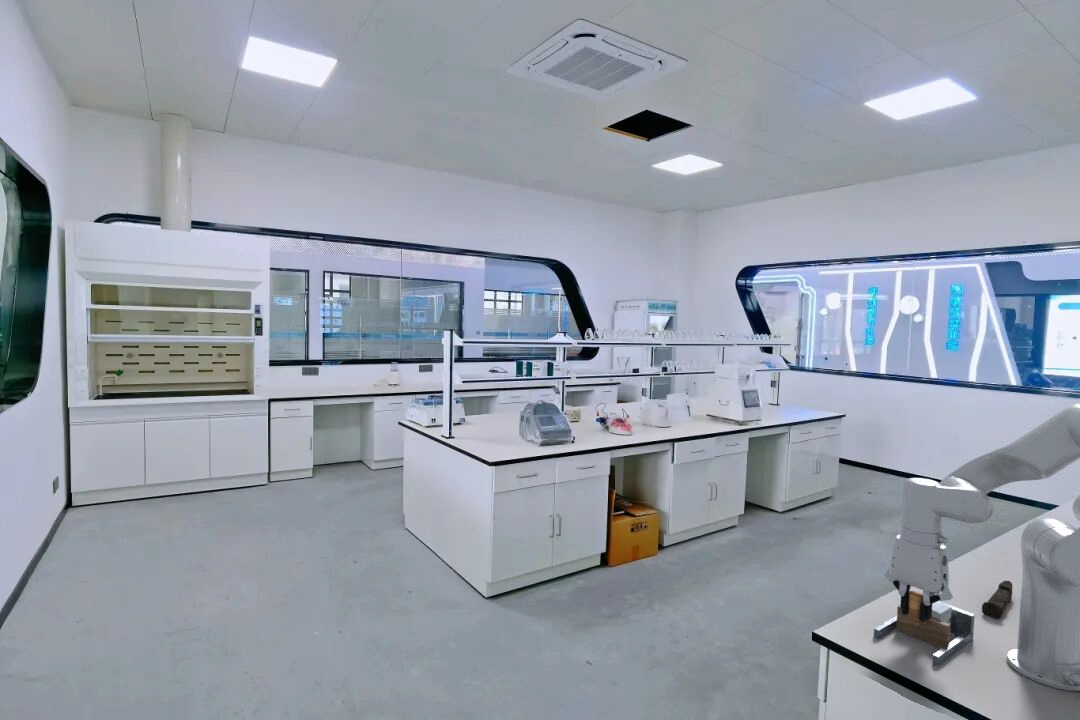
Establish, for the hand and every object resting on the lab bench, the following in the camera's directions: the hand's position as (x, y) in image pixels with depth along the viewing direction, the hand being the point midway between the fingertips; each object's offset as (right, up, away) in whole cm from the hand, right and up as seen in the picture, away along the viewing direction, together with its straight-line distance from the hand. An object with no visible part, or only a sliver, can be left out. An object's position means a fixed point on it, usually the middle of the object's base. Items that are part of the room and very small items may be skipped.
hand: (915, 615), depth 122 cm
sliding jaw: (+1, -6, +1) cm, 7 cm away
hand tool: (+34, -7, +19) cm, 40 cm away
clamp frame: (+4, -7, +3) cm, 8 cm away
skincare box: (+6, -7, +5) cm, 10 cm away
